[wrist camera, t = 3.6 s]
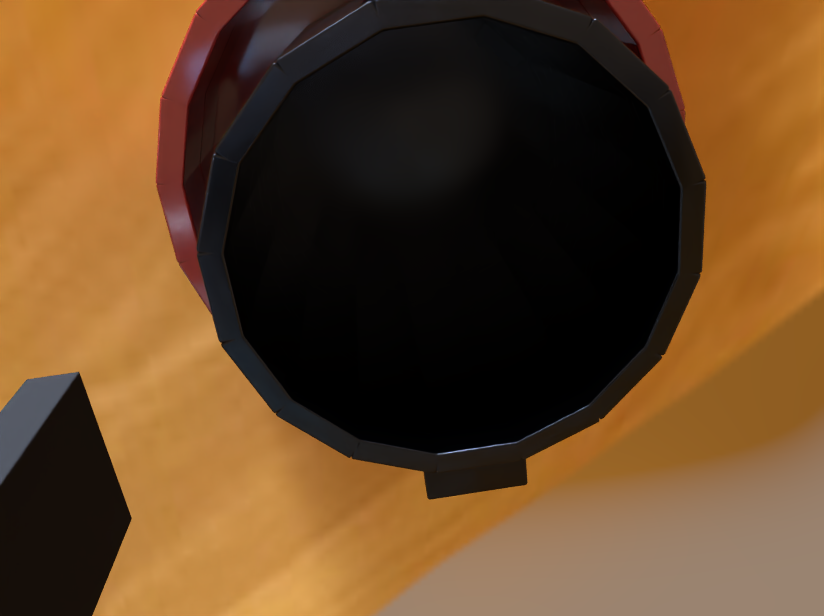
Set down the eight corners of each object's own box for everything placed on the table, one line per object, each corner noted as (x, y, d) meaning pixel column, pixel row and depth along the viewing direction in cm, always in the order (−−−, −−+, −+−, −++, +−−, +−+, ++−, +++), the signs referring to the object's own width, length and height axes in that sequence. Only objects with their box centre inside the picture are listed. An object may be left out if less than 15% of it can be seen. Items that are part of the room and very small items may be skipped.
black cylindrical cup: (299, 342, 30) (273, 549, 19) (218, -43, 24) (111, -65, 13) (567, 303, 30) (692, 485, 19) (553, -87, 24) (723, -146, 13)
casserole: (247, 361, 31) (226, 442, 25) (144, -59, 24) (84, -72, 19) (618, 306, 31) (676, 375, 26) (617, -122, 24) (695, -152, 19)
